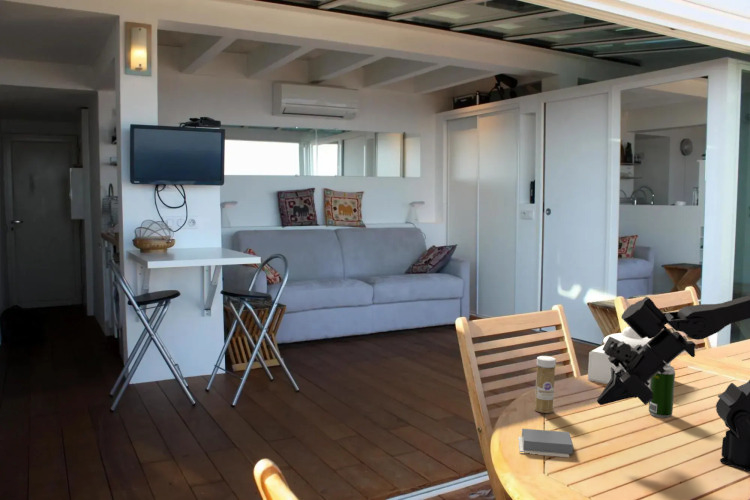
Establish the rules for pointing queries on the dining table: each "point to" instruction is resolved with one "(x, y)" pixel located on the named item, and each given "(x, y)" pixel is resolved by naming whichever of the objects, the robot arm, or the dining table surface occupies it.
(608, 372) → the butter dish
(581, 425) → the dining table surface
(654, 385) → the beer can
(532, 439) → the slate tile
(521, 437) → the plate
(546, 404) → the sprinkles bottle
